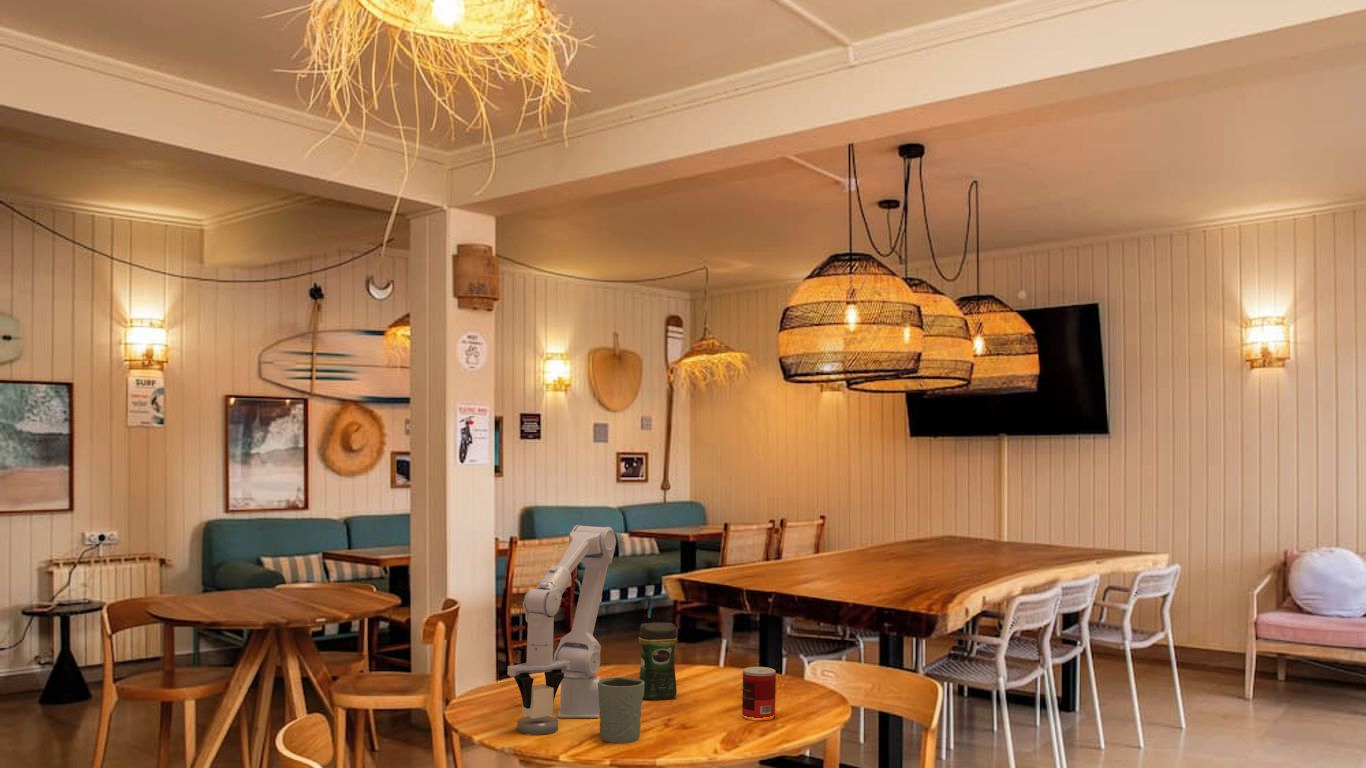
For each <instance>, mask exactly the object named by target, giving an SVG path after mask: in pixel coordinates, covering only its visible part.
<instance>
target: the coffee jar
mask: <svg viewBox="0 0 1366 768" xmlns="http://www.w3.org/2000/svg"><path fill="white" fill-rule="evenodd" d="M638 635H639V636H638V641H639V644H640V649H641V650H640V651H641V652H640V653H641V654H640V656H641V657H640V668H639V675H638V677H639V678H638V679H640V680H643V681H644V690H643V699H646V700H650V699H661V700H667V699H668V698H669V699H674V698H675V697H676V696H677V679H676V678H677V677H676V668H675V667H676V666H675V647H676V644H677V641H678V636H677V635H678V634H677V627H676V625H675V624H674V623H672V622H645V623H641V624H640V627H639V634H638Z"/></svg>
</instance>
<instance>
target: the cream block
mask: <svg viewBox="0 0 1366 768" xmlns="http://www.w3.org/2000/svg"><path fill="white" fill-rule="evenodd" d="M553 691H554V688H552V687H550V686H547V685H546V683H545V684H544V683H541V684H532V690H531V705H530V708H528V709H527V708H525V707H523V703H521V704H522V705H521V706H522V708H521V709H522V710H521V711H522V712H521V714H522V715H524V716H525V717H527V716H528V717H530V718H540V717H547V716H550V717H554V702H553Z"/></svg>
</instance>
